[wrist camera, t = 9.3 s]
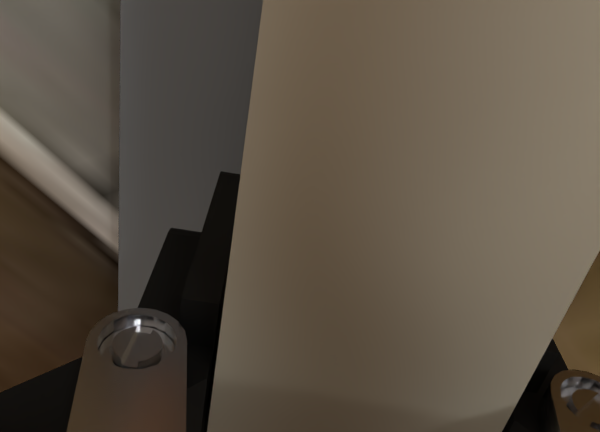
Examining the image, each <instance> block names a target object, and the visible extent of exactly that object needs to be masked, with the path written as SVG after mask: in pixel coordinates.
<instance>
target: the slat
mask: <svg viewBox="0 0 600 432" xmlns="http://www.w3.org/2000/svg"><path fill="white" fill-rule="evenodd" d="M599 251H600V0H263V5H262V13H261V21H260V28H259V36H258V44H257V52H256V59H255V67H254V75H253V82H252V90H251V98H250V105H249V113H248V121H247V128H246V136H245V144H244V151H243V159H242V167H241V174H240V182H239V190H238V198H237V205H236V213H235V221H234V228H233V236H232V244H231V251H230V259H229V267H228V274H227V282H226V290H225V297H224V305H223V313H222V320H221V328H220V336H219V344H218V351H217V359H216V367H215V374H214V382H213V390H212V397H211V405H210V413H209V420H208V428H207V432H502V431H503V429H504V427H505V425H506V423H507V421H508V419H509V418H510V416H511V414H512V412H513V410H514V408H515V406H516V405H517V403H518V401H519V399H520V397H521V395H522V393H523V392H524V390H525V388H526V386H527V384H528V382H529V380H530V379H531V377H532V375H533V373H534V371H535V369H536V368H537V366H538V364H539V362H540V360H541V358H542V356H543V355H544V353H545V351H546V349H547V347H548V345H549V343H550V342H551V340H552V338H553V336H554V334H555V332H556V330H557V329H558V327H559V325H560V323H561V321H562V319H563V317H564V316H565V314H566V312H567V310H568V308H569V306H570V304H571V303H572V301H573V299H574V297H575V295H576V293H577V291H578V290H579V288H580V286H581V284H582V282H583V280H584V278H585V277H586V275H587V273H588V271H589V269H590V267H591V265H592V264H593V262H594V260H595V258H596V256H597V254H598V252H599Z"/></svg>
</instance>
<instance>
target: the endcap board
mask: <svg viewBox="0 0 600 432" xmlns="http://www.w3.org/2000/svg"><path fill="white" fill-rule="evenodd" d="M262 5H263V0H121V4H120V135H119V266H118V311H121V310H125V309H132V308H138V305H139V303H140V300H141V298H142V295H143V293H144V291H145V288H146V286H147V283H148V281H149V278H150V276H151V273H152V271H153V268H154V266H155V263H156V261H157V258H158V256H159V253H160V251H161V248H162V246H163V243H164V241H165V238H166V236H167V233H168V231H169V229H170V228H178V229H184V230H191V231H197V232H202V229H203V226H204V223H205V219H206V216H207V213H208V210H209V206H210V203H211V200H212V197H213V194H214V190H215V187H216V184H217V181H218V178H219V174H220V172H221V171H223V172H229V173H235V174H241V167H242V159H243V151H244V144H245V136H246V128H247V121H248V113H249V105H250V98H251V90H252V82H253V75H254V67H255V59H256V52H257V44H258V36H259V28H260V21H261V13H262Z"/></svg>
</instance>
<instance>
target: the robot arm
mask: <svg viewBox="0 0 600 432" xmlns="http://www.w3.org/2000/svg"><path fill="white" fill-rule="evenodd" d="M239 182H240V174H235V173H229V172H223V171H221V172H220V174H219V178H218V181H217V184H216V187H215V190H214V194H213V197H212V200H211V203H210V206H209V210H208V213H207V216H206V219H205V223H204V226H203V229H202V232H197V231H191V230H184V229H178V228H170V229H169V231H168V233H167V236H166V238H165V241H164V243H163V246H162V248H161V251H160V253H159V256H158V258H157V261H156V263H155V266H154V268H153V271H152V273H151V276H150V278H149V281H148V283H147V286H146V288H145V291H144V293H143V295H142V298H141V300H140V303H139V305H138V308H132V309H125V310H121V311H118V312H114V313H112V314H110V315H108V316H106V317H104V318H103V319H101V320H100V321H99V322H98V323H97V324H96V325H95V326H94V327H93V328H92V329H91V330H90V333H89V335H88V337H87V339H86V344H85V348H84V353H83V357H81V358H79V359H77V360H74V361H72V362H70V363H67V364H65V365H63V366H61V367H58V368H56V369H54V370H51V371H49V372H47V373H44V374H42V375H40V376H37V377H35V378H33V379H31V380H28V381H26V382H24V383H21V384H19V385H17V386H14V387H12V388H10V389H8V390H5V391H3V392H1V393H0V432H207V428H208V420H209V413H210V405H211V397H212V390H213V382H214V374H215V367H216V359H217V351H218V344H219V336H220V328H221V320H222V313H223V305H224V297H225V290H226V282H227V274H228V267H229V259H230V251H231V244H232V236H233V228H234V221H235V213H236V205H237V198H238V190H239ZM502 432H600V376H598V375H595V374H592V373H589V372H586V371H580V370H568V368H567V366H566V364H565V362H564V360H563V358H562V356H561V354H560V352H559V350H558V348H557V346H556V344H555V342H554V340H553V338H552V340H551V342H550V343H549V345H548V347H547V349H546V351H545V353H544V355H543V356H542V358H541V360H540V362H539V364H538V366H537V368H536V369H535V371H534V373H533V375H532V377H531V379H530V380H529V382H528V384H527V386H526V388H525V390H524V392H523V393H522V395H521V397H520V399H519V401H518V403H517V405H516V406H515V408H514V410H513V412H512V414H511V416H510V418H509V419H508V421H507V423H506V425H505V427H504V429H503V431H502Z"/></svg>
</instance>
